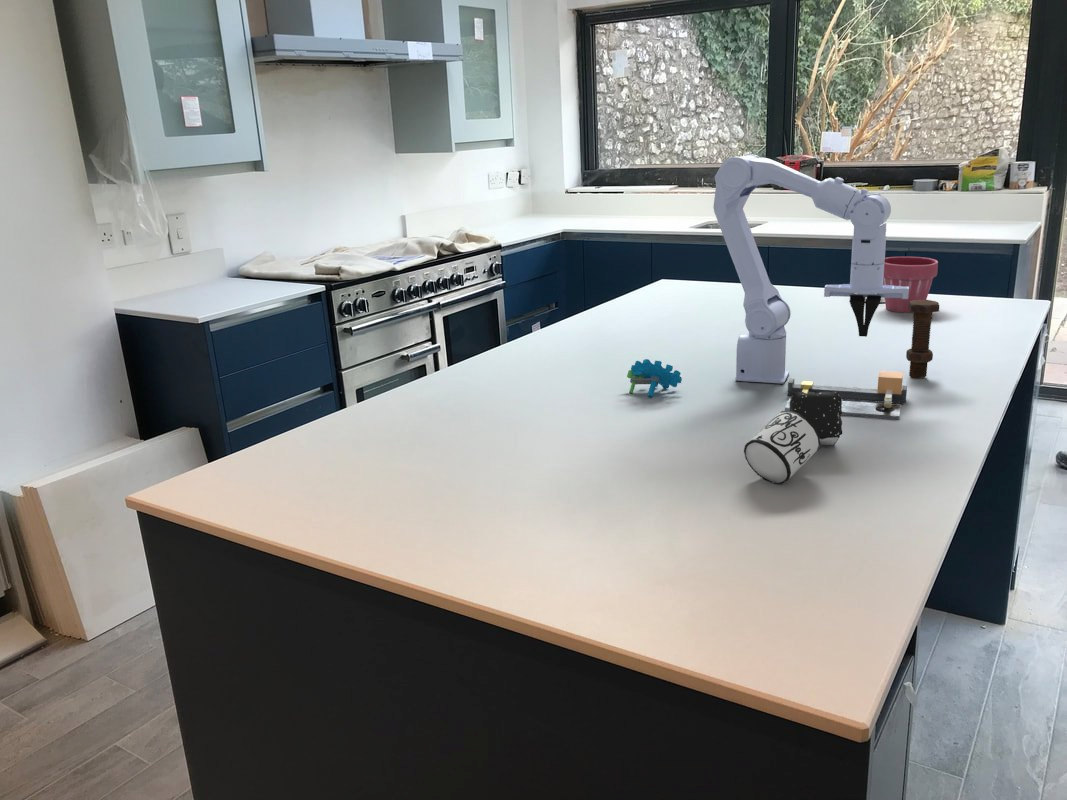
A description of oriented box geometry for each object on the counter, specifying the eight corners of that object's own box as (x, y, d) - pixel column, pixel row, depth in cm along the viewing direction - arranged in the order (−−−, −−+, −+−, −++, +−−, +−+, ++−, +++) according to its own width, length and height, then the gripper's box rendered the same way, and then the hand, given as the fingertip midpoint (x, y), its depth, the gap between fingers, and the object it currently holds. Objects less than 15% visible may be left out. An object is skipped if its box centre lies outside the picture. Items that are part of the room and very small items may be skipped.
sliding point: (874, 407, 153) (876, 386, 152) (878, 390, 162) (879, 370, 161) (899, 409, 152) (901, 388, 151) (901, 392, 161) (903, 372, 160)
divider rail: (782, 406, 160) (782, 392, 159) (789, 391, 168) (790, 378, 167) (904, 415, 152) (905, 401, 151) (906, 399, 160) (907, 385, 159)
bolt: (934, 381, 169) (941, 305, 165) (906, 381, 170) (912, 305, 166) (928, 373, 175) (934, 299, 170) (901, 373, 176) (906, 299, 171)
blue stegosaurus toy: (691, 382, 172) (669, 355, 165) (684, 408, 169) (661, 382, 162) (641, 382, 178) (619, 357, 171) (634, 408, 176) (611, 383, 169)
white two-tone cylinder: (804, 498, 122) (807, 431, 119) (736, 485, 128) (737, 420, 125) (855, 441, 142) (859, 382, 139) (794, 432, 147) (796, 375, 144)
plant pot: (943, 313, 224) (948, 263, 220) (887, 316, 224) (891, 265, 220) (920, 302, 237) (924, 255, 233) (868, 304, 238) (871, 257, 234)
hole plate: (784, 410, 158) (784, 406, 157) (789, 400, 163) (790, 396, 163) (899, 419, 150) (899, 415, 150) (900, 408, 156) (900, 404, 155)
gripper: (823, 265, 160) (820, 338, 164) (910, 266, 154) (904, 342, 158) (827, 259, 166) (824, 329, 170) (911, 260, 160) (905, 333, 164)
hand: (863, 335), depth 165 cm, fingers closed
